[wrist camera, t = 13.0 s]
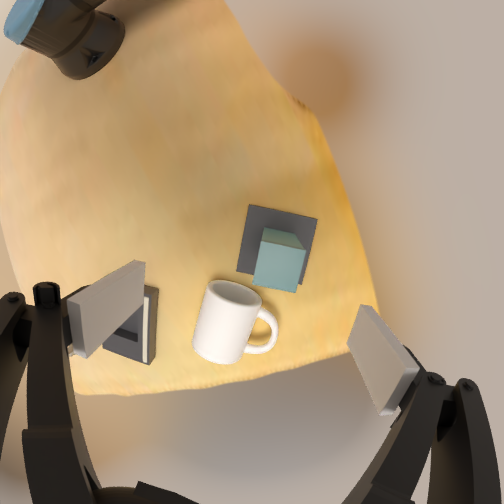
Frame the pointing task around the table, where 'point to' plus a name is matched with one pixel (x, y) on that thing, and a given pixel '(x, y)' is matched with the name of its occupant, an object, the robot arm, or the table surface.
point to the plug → (279, 261)
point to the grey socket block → (137, 331)
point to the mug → (230, 323)
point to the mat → (277, 221)
